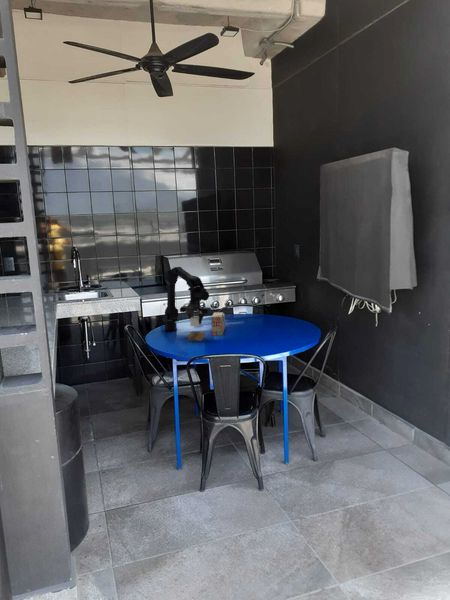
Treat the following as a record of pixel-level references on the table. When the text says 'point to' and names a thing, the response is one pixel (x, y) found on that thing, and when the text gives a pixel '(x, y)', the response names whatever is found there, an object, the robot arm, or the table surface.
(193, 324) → the cream cube
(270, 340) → the table surface
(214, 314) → the stack of blocks
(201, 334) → the walnut block
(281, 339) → the table surface
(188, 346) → the table surface
